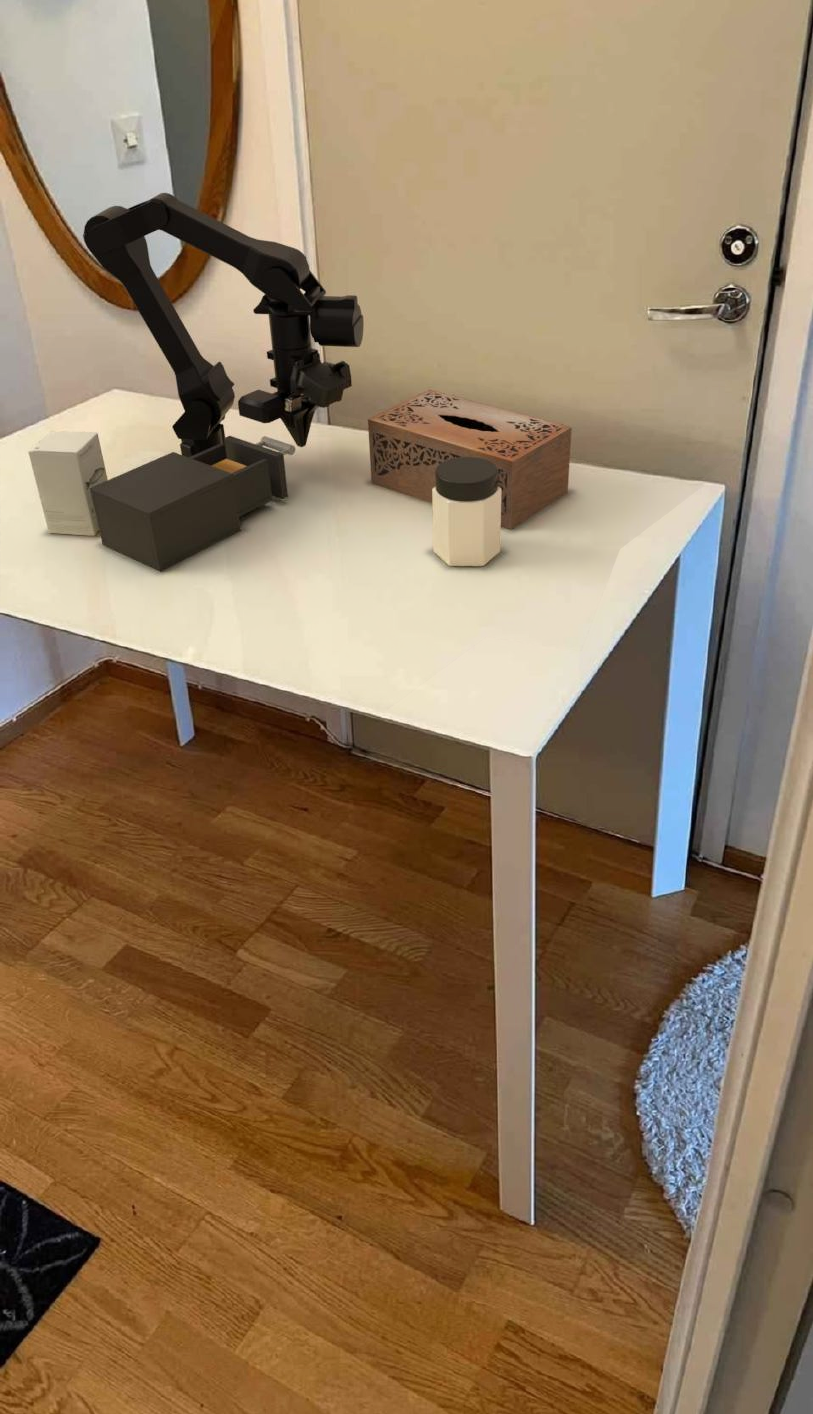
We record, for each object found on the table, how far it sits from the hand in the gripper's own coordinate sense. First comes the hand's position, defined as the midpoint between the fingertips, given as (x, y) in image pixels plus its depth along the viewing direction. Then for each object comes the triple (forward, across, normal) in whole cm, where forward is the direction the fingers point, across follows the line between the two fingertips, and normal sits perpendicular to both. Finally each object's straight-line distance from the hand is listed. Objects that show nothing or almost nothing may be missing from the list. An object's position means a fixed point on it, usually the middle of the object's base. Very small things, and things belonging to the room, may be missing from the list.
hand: (301, 446), depth 164 cm
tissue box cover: (+4, +10, -24) cm, 27 cm away
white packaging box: (+4, -32, +14) cm, 35 cm away
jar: (+4, -6, -36) cm, 37 cm away
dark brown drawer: (+3, -13, 0) cm, 14 cm away
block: (+2, -15, 0) cm, 15 cm away
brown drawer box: (+4, -27, 0) cm, 27 cm away
